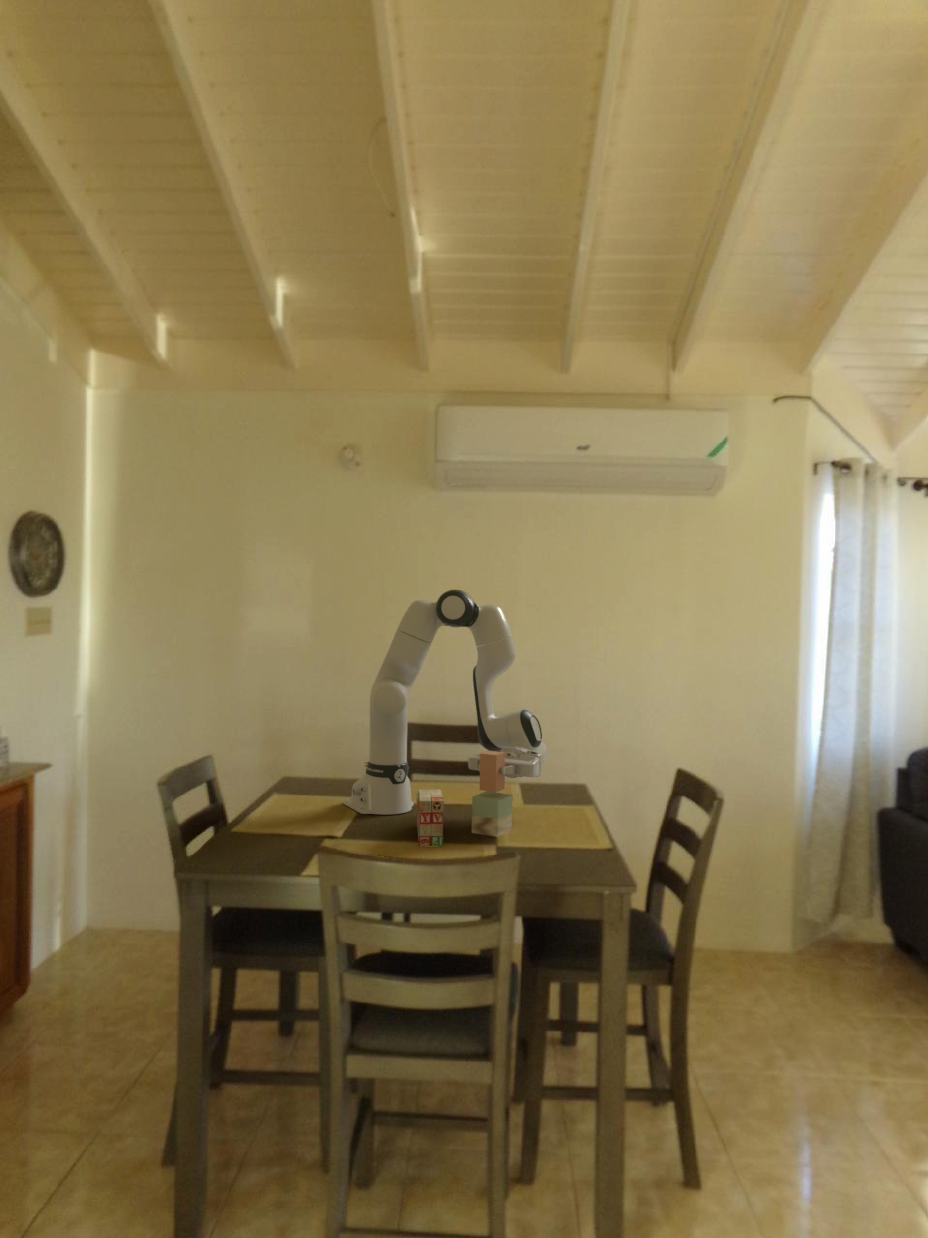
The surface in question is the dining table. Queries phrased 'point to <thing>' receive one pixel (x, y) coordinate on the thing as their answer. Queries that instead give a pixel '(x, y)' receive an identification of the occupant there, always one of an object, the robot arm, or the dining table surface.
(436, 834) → the stack of blocks
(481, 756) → the tall block
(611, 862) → the dining table surface
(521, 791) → the dining table surface
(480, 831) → the tower bottom
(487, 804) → the tower top
